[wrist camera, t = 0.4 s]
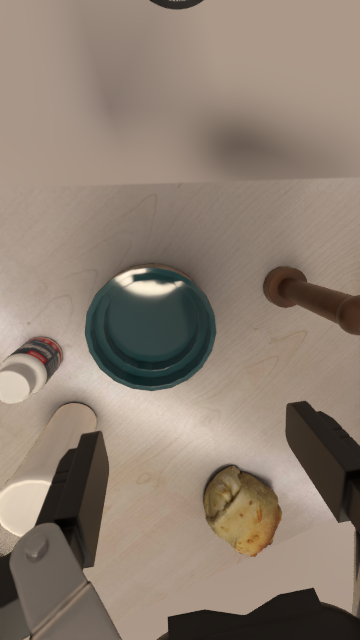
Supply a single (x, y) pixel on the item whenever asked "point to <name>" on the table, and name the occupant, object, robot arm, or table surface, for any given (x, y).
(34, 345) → the pill bottle
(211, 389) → the table surface
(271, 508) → the pastry
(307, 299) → the pestle
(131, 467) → the table surface
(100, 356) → the bowl
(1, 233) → the table surface
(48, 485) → the cup
